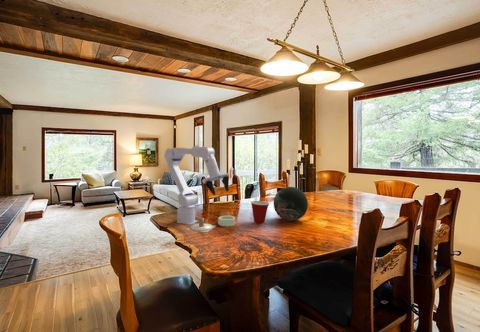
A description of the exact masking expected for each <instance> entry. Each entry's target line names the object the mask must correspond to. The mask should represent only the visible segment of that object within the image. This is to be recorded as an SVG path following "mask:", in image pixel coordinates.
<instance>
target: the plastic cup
mask: <svg viewBox="0 0 480 332" xmlns="http://www.w3.org/2000/svg"><path fill="white" fill-rule="evenodd" d="M250 204H251V210H252V216H253V222H254V223H255V224H256V225H257V224H258V225H262V224H264V223H265V221H266V217H267V212H268V209H269V205H270V202H267V201H263V200H262V201H261V200H251V201H250Z"/></svg>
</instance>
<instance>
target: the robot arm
mask: <svg viewBox="0 0 480 332" xmlns="http://www.w3.org/2000/svg"><path fill="white" fill-rule="evenodd" d="M185 155H191V156H192V157H194V158H200V159H201V158H202V159H203V162H204V164H205V166H206V170H207V174H208V176H209V177H206V178H203V179H202V184H203V185H204V186H205V187H206V188H207V189H208V190H209V191H210V193H211V194H212V196H216V191H215V189H214V184H213V182H215V181H217V180H221V179H222V180H221V182H222V184H223V186H224V189H225V191H226V193H228V192H229V191H230V190H229V189H230V188H229V181H230V180H229V179H230V173H229V172H227V173H226V172H225V173H224V172H223V173H221V172H220V169H219V166H218V163H217V160H216V157H215V155H216V151H215V149H214V147H212V146H207V147H206V146H205V145H203V146H200V145H195V146H193V147H191V148H190V147H189V148H188V147H172V148H170V147H169V148H166V149H165V153H164V156H163V157H164V158H165V161H166V162H167V167H168V170H169V172H170V174H171V176H172V178H173V181H174V183H175V186H176V187H177V190H178V192H179V194H178V195H177V200H178V204H179V207H177V212H176V219H177V220H176V221H177V222H176V224H183V225H184V224H186V225H194V224H196V223H197V222H199V219H198V220H196V206H197V204H198V202H199V197H198V196H197V194H196V193H195V192H194V191H193V190H191V189H190V188H189V187H188V183H187V182H186V180H185V177H184V176H183V173H182V171H181V169H180V167H179V165H180V164H181V162H182V160H183V158H184V156H185Z"/></svg>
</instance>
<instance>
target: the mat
mask: <svg viewBox="0 0 480 332" xmlns="http://www.w3.org/2000/svg"><path fill="white" fill-rule="evenodd" d="M211 225H212V228H211V229H209V230H205V231H200V232H201V233H209V232H210V231H212V230H213V229H214V228H216V227H217V225H214V224H211ZM185 231H193V232H197V231H196V230H192V229H191V226H190V227H188V228H186V229H185Z"/></svg>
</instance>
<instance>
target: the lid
mask: <svg viewBox="0 0 480 332" xmlns="http://www.w3.org/2000/svg"><path fill="white" fill-rule="evenodd" d="M212 225H213V224H210V223H205V218H204V217H200V218H199V219H198V223H193V224H191V226H190V227H191V229H192V230H196V231H195V232H201V231H205V230H209V229H211V228H212ZM192 230H191V231H192ZM211 230H212V229H211Z"/></svg>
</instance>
